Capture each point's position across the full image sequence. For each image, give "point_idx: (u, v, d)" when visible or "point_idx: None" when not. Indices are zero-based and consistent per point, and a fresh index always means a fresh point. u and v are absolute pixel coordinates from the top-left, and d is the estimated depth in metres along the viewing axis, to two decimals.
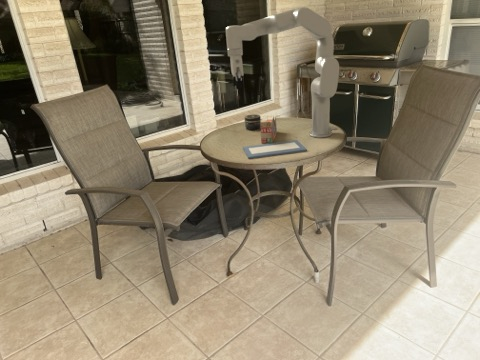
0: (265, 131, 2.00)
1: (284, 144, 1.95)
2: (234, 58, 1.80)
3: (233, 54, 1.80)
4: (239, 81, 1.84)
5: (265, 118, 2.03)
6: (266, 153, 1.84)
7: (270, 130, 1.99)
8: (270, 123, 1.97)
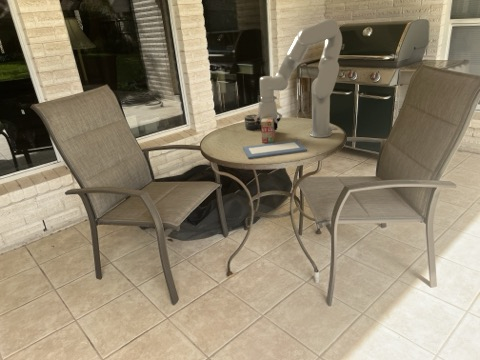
0: (266, 131, 2.00)
1: (284, 144, 1.95)
2: (275, 103, 2.03)
3: (274, 100, 2.02)
4: None
5: (265, 118, 2.04)
6: (266, 153, 1.84)
7: (271, 129, 1.99)
8: (271, 122, 1.98)
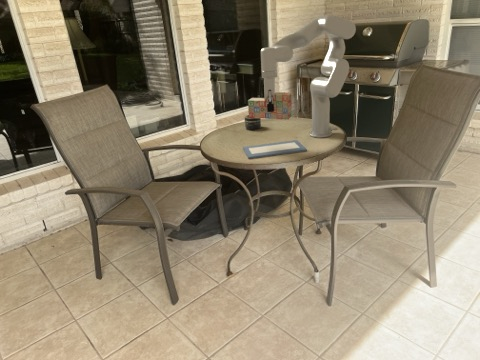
0: (289, 105, 1.83)
1: (284, 144, 1.95)
2: None
3: None
4: None
5: (276, 94, 1.82)
6: (266, 153, 1.84)
7: (290, 102, 1.85)
8: None
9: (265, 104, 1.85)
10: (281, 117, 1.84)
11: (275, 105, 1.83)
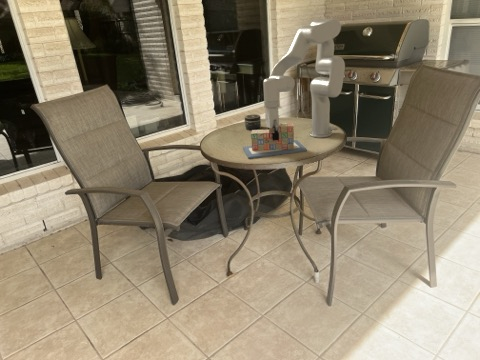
0: None
1: None
2: None
3: None
4: None
5: (279, 125, 1.84)
6: (266, 153, 1.84)
7: None
8: None
9: (269, 136, 1.85)
10: (286, 147, 1.87)
11: (280, 136, 1.85)
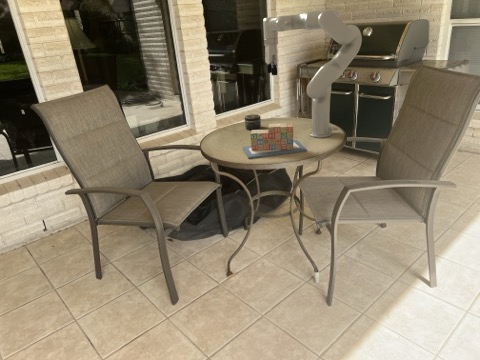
0: None
1: None
2: None
3: None
4: None
5: (279, 125, 1.84)
6: (266, 153, 1.84)
7: None
8: None
9: (269, 136, 1.85)
10: (286, 148, 1.86)
11: (279, 137, 1.84)
